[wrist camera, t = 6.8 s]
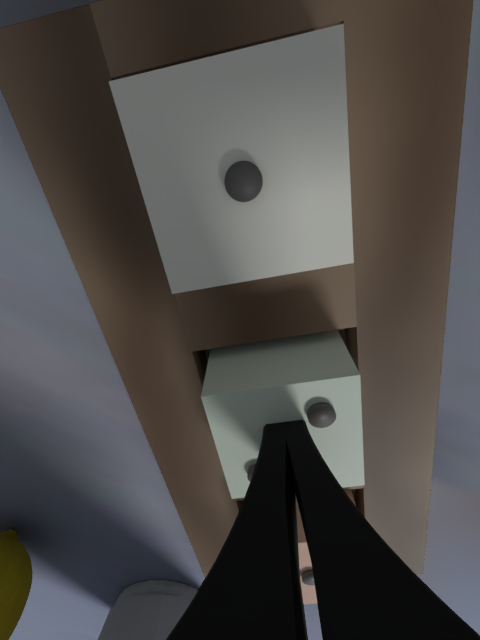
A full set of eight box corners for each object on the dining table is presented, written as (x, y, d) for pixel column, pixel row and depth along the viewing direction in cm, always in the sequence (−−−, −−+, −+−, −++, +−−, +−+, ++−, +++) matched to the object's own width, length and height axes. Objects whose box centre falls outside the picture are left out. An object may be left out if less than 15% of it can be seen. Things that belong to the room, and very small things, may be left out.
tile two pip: (337, 329, 13) (362, 378, 10) (344, 426, 15) (366, 490, 12) (210, 348, 13) (200, 400, 10) (234, 439, 16) (231, 503, 13)
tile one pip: (316, 61, 9) (346, 19, 6) (329, 237, 12) (356, 265, 9) (146, 101, 10) (105, 79, 7) (189, 263, 12) (170, 296, 9)
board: (435, -52, 9) (482, -105, 7) (407, 536, 20) (423, 573, 18) (25, 55, 10) (-22, 34, 8) (213, 553, 21) (210, 589, 20)
